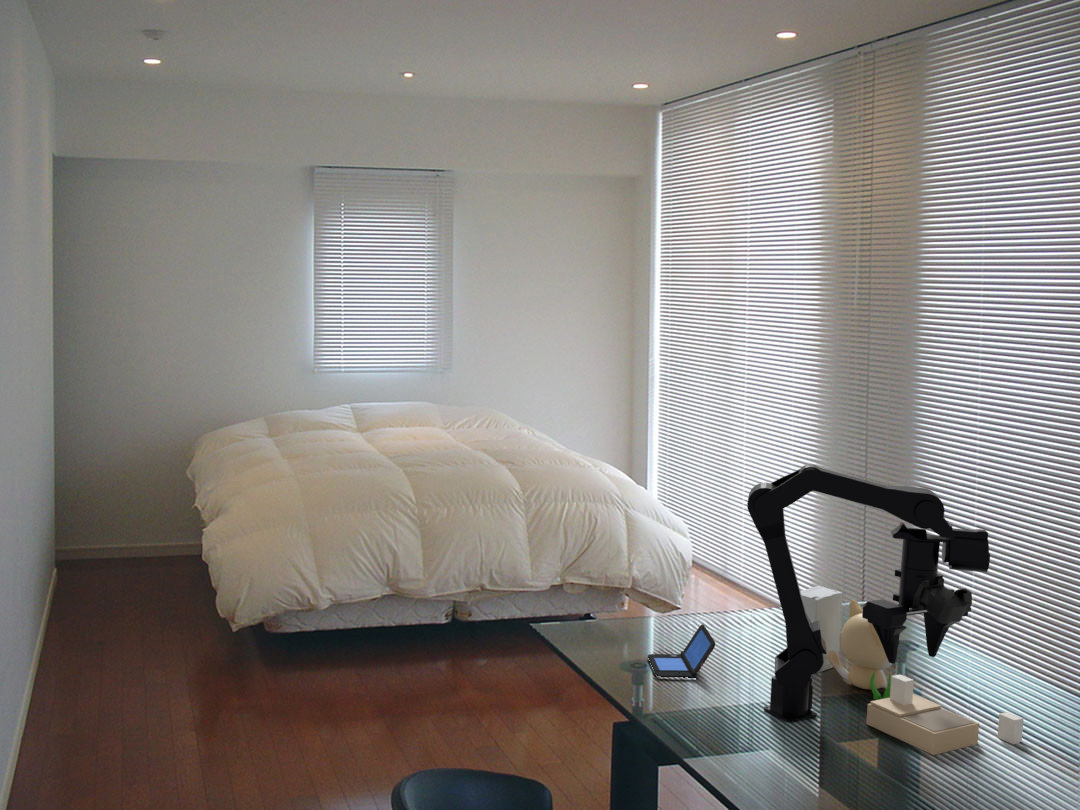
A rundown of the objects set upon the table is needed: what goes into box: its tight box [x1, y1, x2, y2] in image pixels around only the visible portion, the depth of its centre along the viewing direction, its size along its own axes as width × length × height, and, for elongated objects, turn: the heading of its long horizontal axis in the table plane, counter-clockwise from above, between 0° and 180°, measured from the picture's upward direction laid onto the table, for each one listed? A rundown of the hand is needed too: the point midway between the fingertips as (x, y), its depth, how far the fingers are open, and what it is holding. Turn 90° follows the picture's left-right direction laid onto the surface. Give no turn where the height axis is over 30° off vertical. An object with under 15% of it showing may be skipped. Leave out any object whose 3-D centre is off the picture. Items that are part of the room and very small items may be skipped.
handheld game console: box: [647, 624, 716, 679], centre depth 210 cm, size 12×11×7 cm
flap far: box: [869, 674, 942, 717], centre depth 184 cm, size 9×6×4 cm
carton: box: [866, 703, 980, 756], centre depth 181 cm, size 10×14×4 cm
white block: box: [997, 711, 1024, 745], centre depth 181 cm, size 9×6×4 cm
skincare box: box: [800, 585, 843, 674], centre depth 213 cm, size 8×6×15 cm
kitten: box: [827, 599, 900, 700], centre depth 202 cm, size 15×10×15 cm
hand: (912, 659), depth 184 cm, fingers open, 9 cm apart
